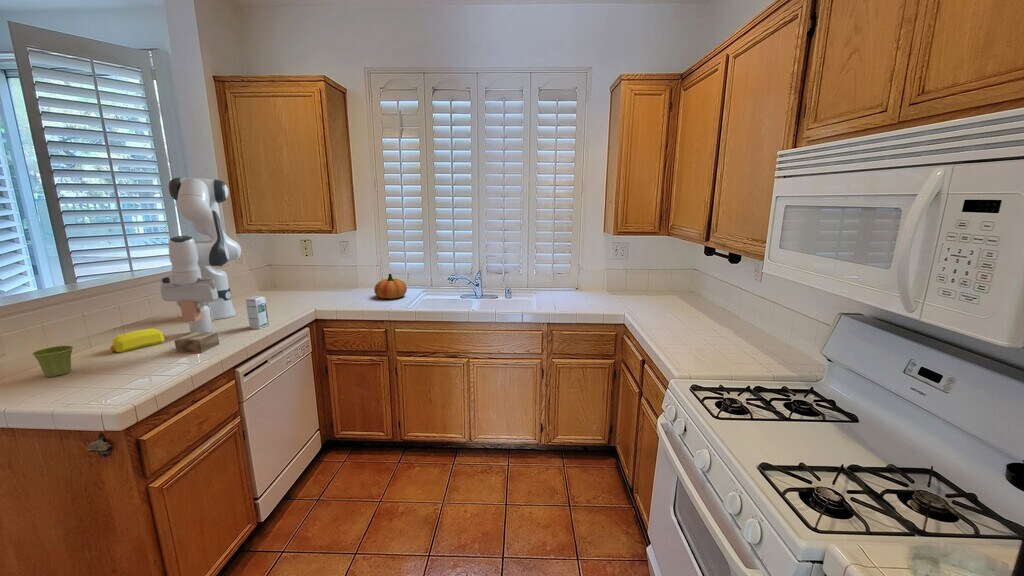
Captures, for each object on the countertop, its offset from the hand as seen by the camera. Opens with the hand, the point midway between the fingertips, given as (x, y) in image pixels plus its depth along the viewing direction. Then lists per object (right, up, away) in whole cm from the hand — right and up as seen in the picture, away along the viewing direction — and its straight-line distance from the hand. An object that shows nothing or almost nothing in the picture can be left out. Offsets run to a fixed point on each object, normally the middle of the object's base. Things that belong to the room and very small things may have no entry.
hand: (192, 311), depth 164 cm
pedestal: (0, -15, +3) cm, 15 cm away
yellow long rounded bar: (-25, -15, +5) cm, 30 cm away
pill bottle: (-13, -11, +22) cm, 28 cm away
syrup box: (+7, -9, +32) cm, 34 cm away
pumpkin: (+52, +4, +94) cm, 107 cm away
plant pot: (-29, -20, -22) cm, 42 cm away
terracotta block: (0, -3, +1) cm, 3 cm away
